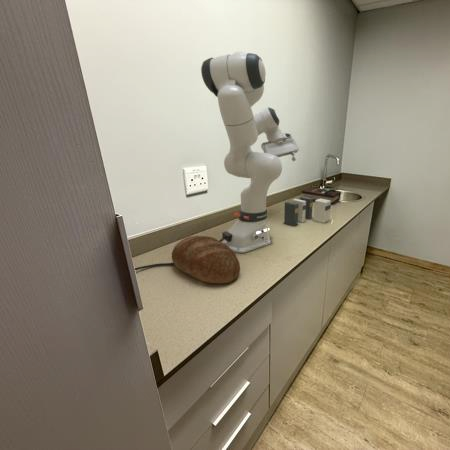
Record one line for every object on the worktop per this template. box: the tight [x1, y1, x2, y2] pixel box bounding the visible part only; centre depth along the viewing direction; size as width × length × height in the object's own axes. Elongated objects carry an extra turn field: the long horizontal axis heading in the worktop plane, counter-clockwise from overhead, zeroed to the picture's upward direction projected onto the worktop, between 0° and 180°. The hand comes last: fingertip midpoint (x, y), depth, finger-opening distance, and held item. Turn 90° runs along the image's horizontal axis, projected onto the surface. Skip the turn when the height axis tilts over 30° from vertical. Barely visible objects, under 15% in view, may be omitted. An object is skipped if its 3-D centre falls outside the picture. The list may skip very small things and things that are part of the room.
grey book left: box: [283, 201, 299, 227], centre depth 131 cm, size 3×7×12 cm, turn 56°
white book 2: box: [313, 200, 328, 224], centre depth 138 cm, size 3×7×12 cm, turn 56°
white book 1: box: [292, 198, 306, 223], centre depth 137 cm, size 3×7×12 cm, turn 56°
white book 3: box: [318, 198, 332, 222], centre depth 140 cm, size 3×7×12 cm, turn 56°
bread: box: [171, 235, 241, 284], centre depth 85 cm, size 16×29×11 cm, turn 57°
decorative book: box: [301, 186, 342, 206], centre depth 184 cm, size 19×8×30 cm
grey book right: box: [299, 196, 314, 220], centre depth 143 cm, size 3×7×12 cm, turn 56°
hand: (287, 162), depth 130 cm, fingers open, 8 cm apart
